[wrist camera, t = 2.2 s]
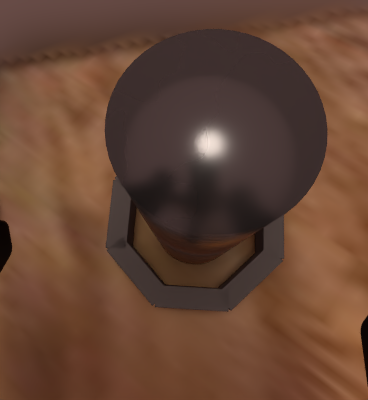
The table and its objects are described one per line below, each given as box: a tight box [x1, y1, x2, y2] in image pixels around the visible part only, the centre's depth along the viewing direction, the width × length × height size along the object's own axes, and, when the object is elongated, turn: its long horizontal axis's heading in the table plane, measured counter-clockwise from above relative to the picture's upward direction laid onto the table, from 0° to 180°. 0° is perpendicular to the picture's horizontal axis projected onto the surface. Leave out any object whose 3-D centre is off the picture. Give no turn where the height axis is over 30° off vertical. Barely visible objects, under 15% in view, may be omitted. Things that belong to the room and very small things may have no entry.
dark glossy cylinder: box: [105, 29, 327, 264], centre depth 13 cm, size 4×4×12 cm
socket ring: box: [106, 176, 284, 312], centre depth 18 cm, size 9×9×2 cm
